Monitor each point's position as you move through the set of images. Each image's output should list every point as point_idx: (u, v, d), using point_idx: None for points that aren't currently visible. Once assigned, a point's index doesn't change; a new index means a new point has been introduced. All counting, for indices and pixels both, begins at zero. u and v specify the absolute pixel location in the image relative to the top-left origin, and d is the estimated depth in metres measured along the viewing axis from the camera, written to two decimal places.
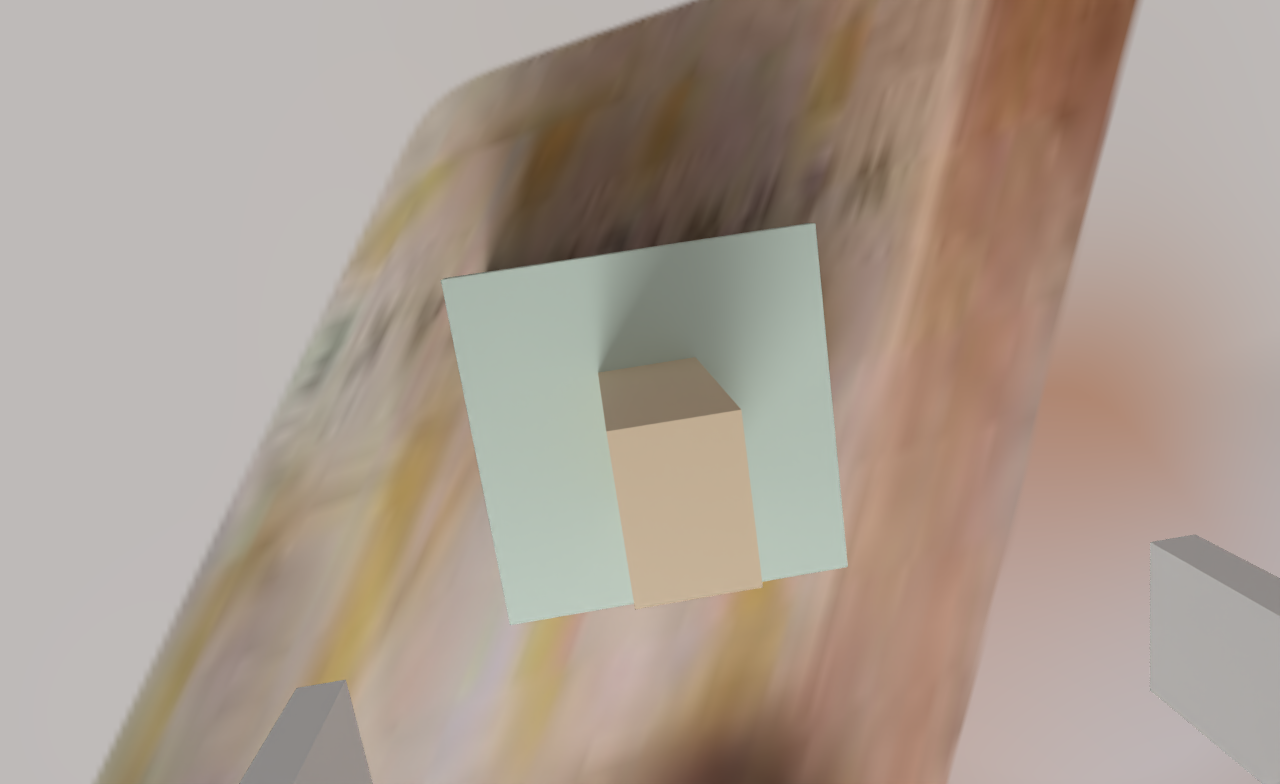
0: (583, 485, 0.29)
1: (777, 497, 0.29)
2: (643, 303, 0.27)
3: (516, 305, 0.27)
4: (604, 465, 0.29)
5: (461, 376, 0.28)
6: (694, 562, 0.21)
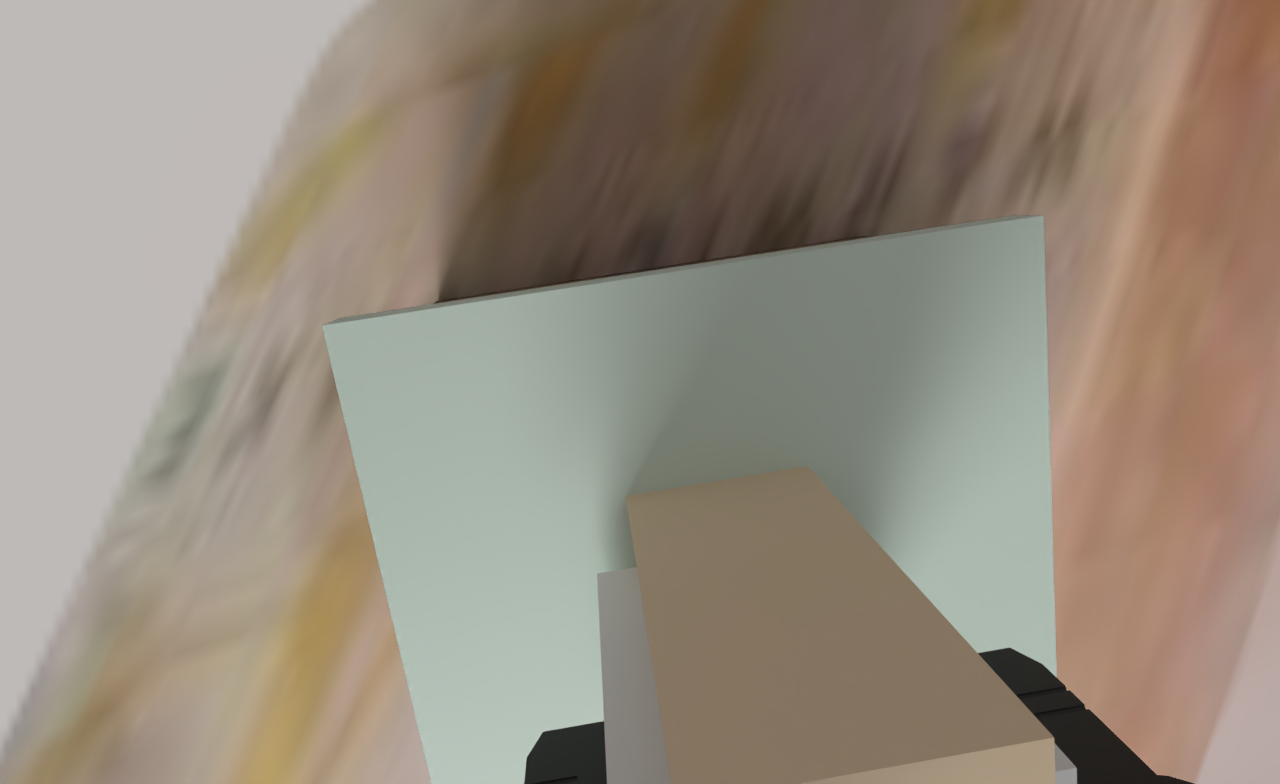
0: (597, 695, 0.16)
1: None
2: (713, 368, 0.14)
3: (469, 374, 0.14)
4: None
5: (367, 505, 0.15)
6: None
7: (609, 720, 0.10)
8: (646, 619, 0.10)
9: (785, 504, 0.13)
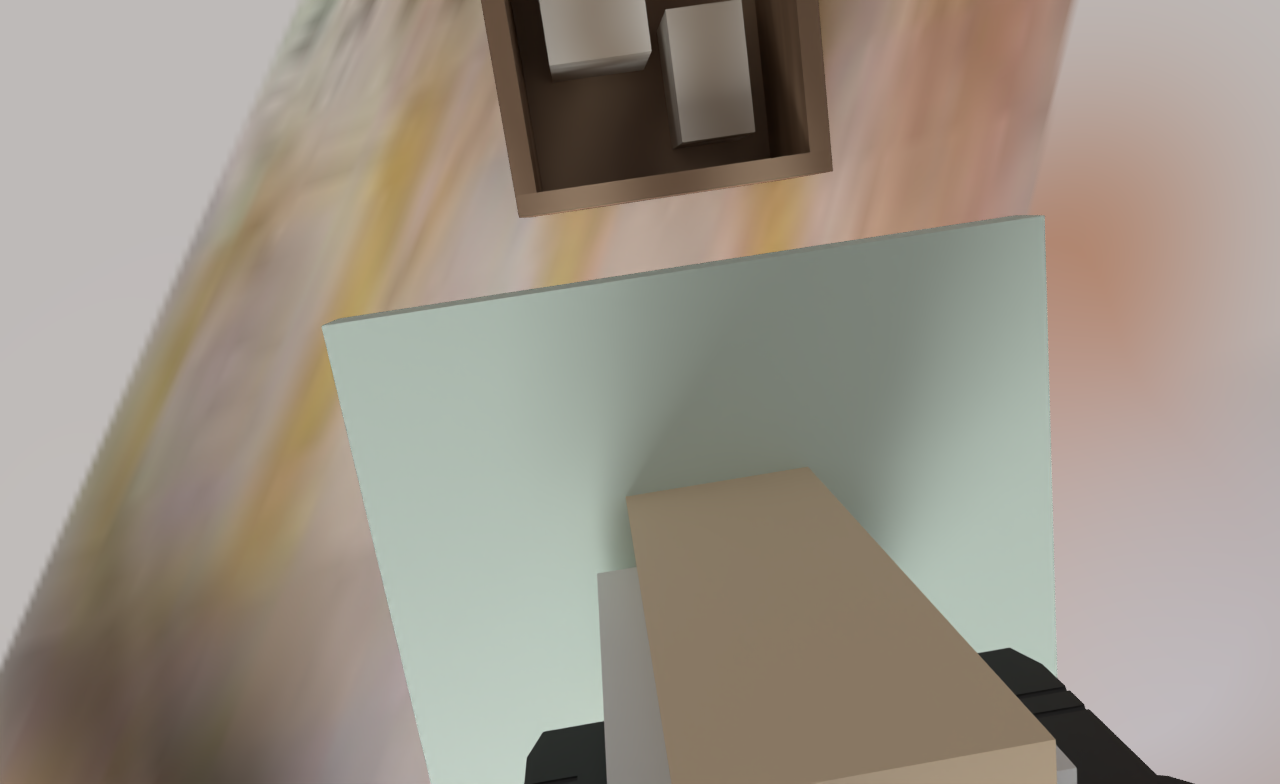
0: (597, 696, 0.16)
1: None
2: (713, 368, 0.14)
3: (469, 374, 0.14)
4: None
5: (367, 506, 0.14)
6: None
7: (609, 720, 0.10)
8: (646, 620, 0.10)
9: (785, 505, 0.13)
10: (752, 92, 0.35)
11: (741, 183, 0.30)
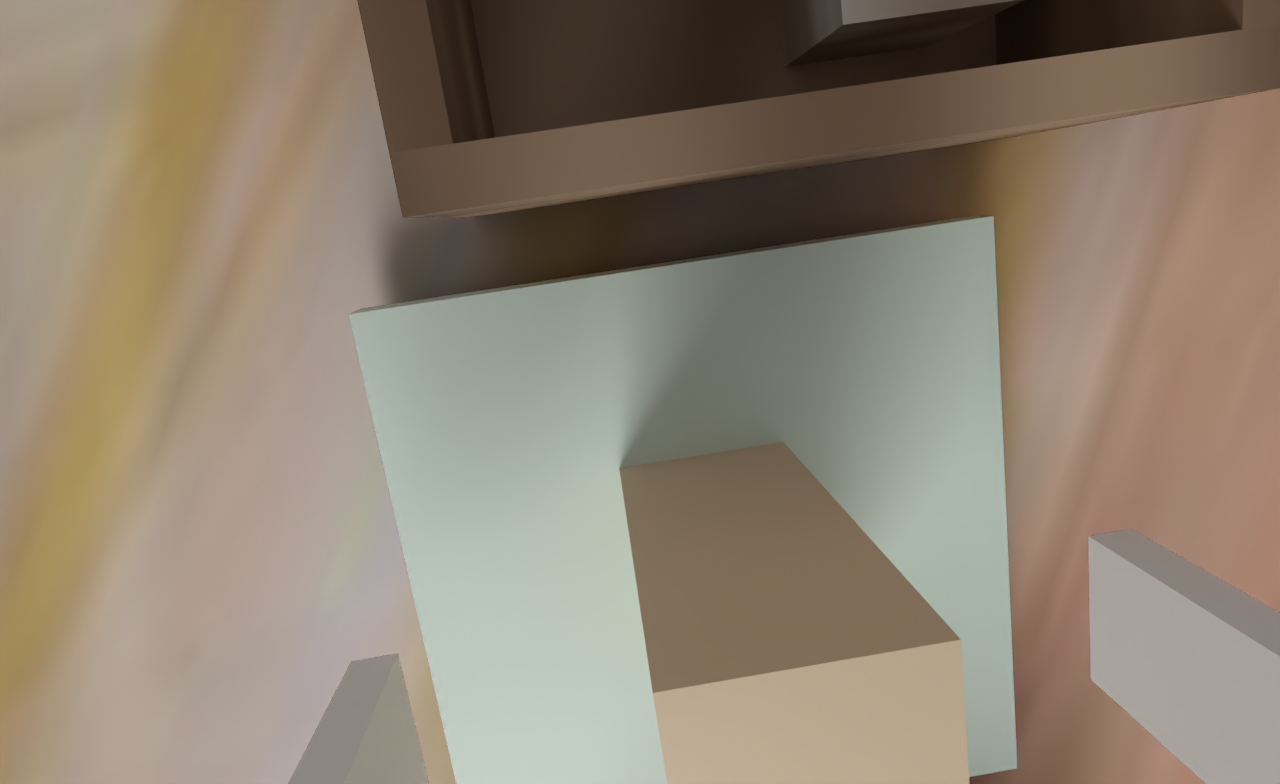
0: (594, 649, 0.17)
1: None
2: (697, 352, 0.16)
3: (480, 358, 0.16)
4: (629, 617, 0.17)
5: (387, 476, 0.16)
6: None
7: None
8: (634, 563, 0.12)
9: (760, 473, 0.15)
10: None
11: (1043, 119, 0.10)
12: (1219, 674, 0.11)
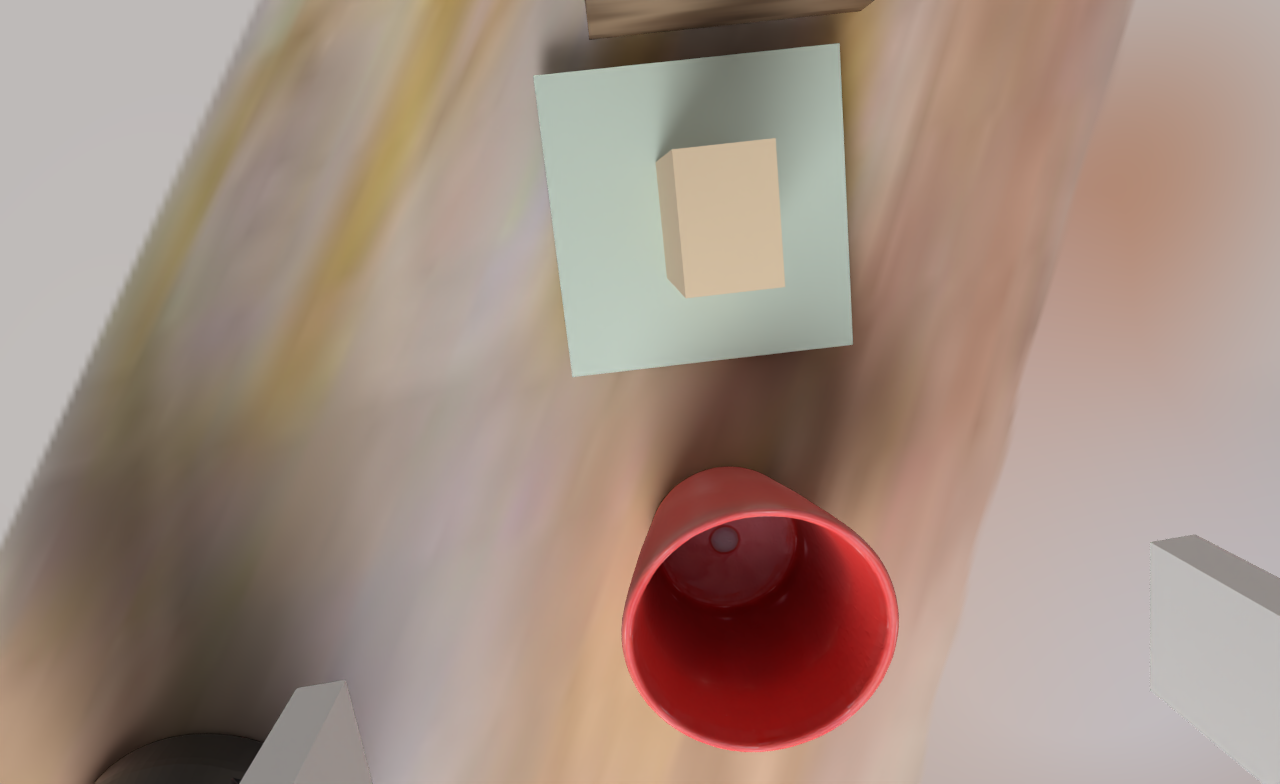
0: (638, 259, 0.35)
1: (797, 279, 0.36)
2: (695, 104, 0.34)
3: (592, 101, 0.33)
4: (656, 242, 0.35)
5: (545, 159, 0.34)
6: (733, 262, 0.27)
7: None
8: (664, 155, 0.30)
9: None
10: None
11: None
12: None
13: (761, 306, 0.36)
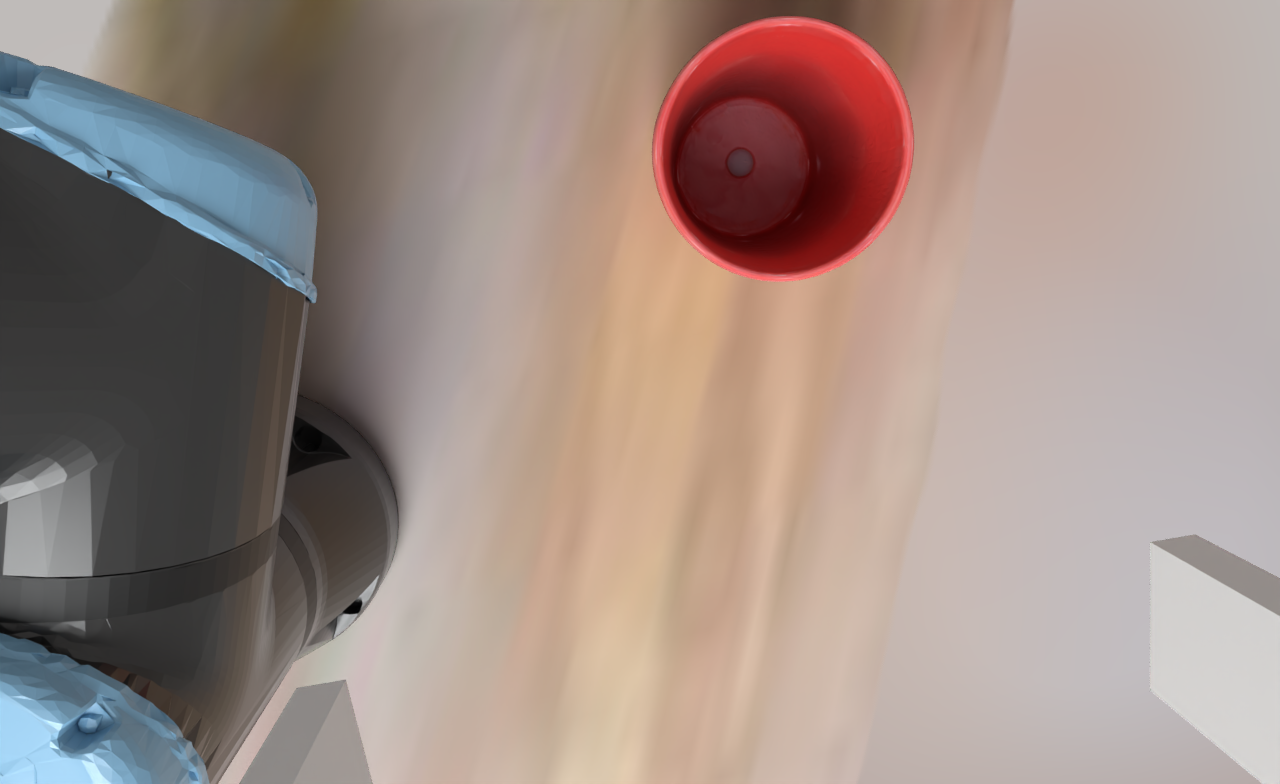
0: None
1: None
2: None
3: None
4: None
5: None
6: None
7: None
8: None
9: None
10: None
11: None
12: None
13: None
